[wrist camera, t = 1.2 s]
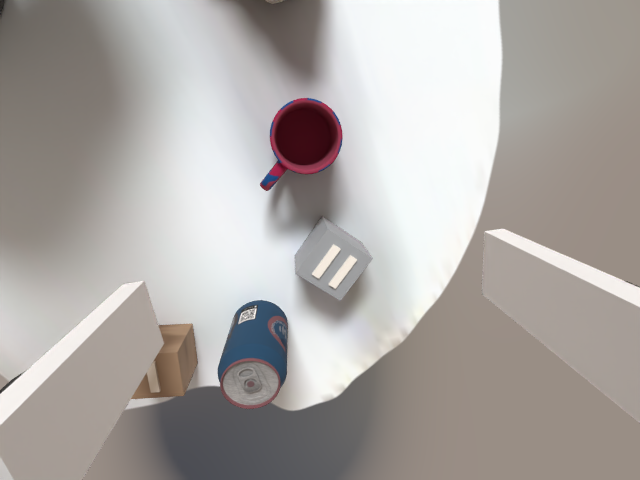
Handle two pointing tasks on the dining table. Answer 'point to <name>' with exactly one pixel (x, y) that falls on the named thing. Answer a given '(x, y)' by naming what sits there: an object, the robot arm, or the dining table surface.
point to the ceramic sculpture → (274, 1)
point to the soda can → (254, 355)
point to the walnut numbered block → (170, 364)
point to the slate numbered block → (331, 259)
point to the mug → (303, 139)
